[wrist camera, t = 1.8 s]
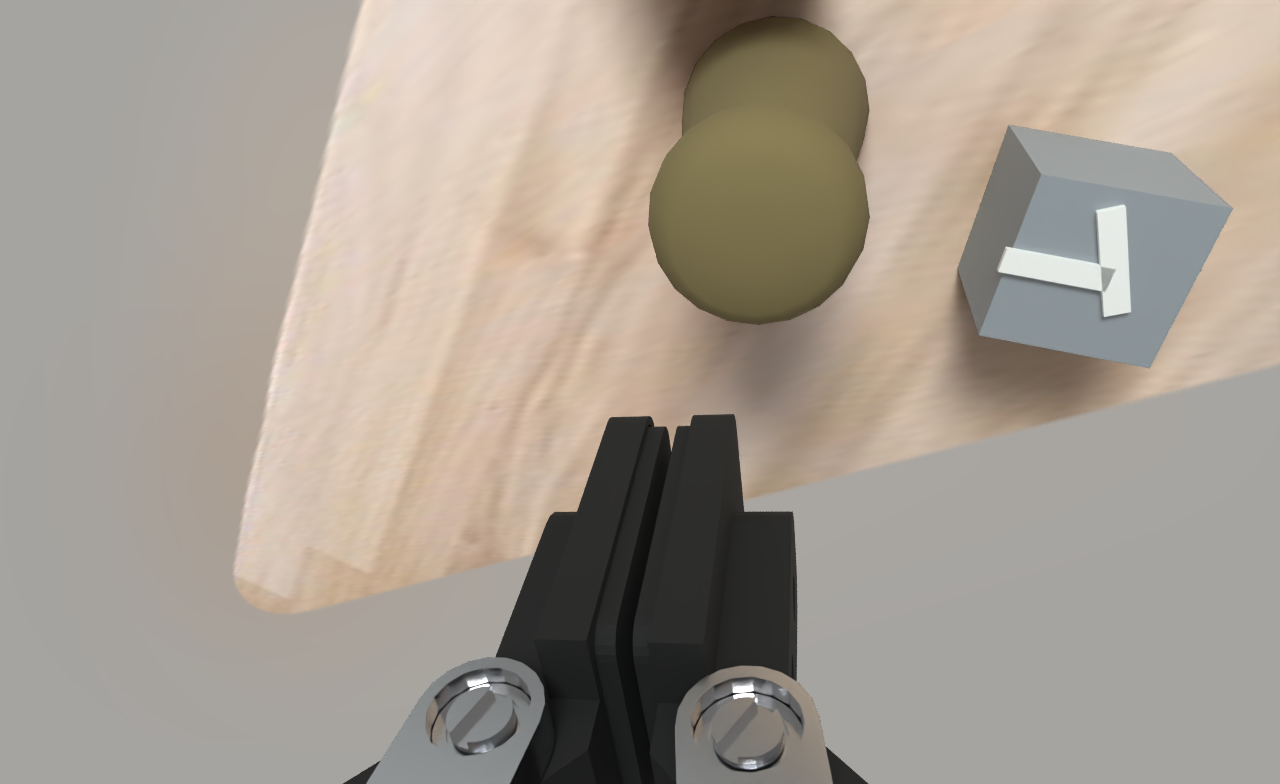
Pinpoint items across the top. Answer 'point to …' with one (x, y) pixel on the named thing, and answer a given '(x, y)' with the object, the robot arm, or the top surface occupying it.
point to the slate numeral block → (1087, 245)
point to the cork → (765, 174)
